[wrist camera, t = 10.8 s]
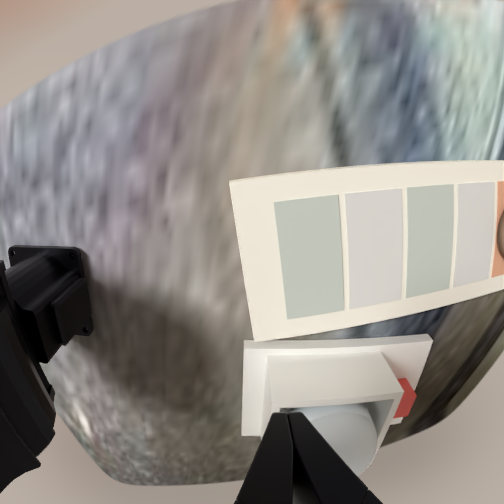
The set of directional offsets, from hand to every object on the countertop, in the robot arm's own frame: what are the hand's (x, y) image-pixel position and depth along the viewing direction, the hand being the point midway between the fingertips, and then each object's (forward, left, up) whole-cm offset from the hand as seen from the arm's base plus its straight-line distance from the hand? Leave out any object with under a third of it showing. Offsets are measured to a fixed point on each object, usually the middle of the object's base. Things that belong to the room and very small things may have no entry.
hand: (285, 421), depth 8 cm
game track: (+10, +2, -12) cm, 16 cm away
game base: (+6, -10, -12) cm, 16 cm away
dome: (+4, -9, -9) cm, 14 cm away
